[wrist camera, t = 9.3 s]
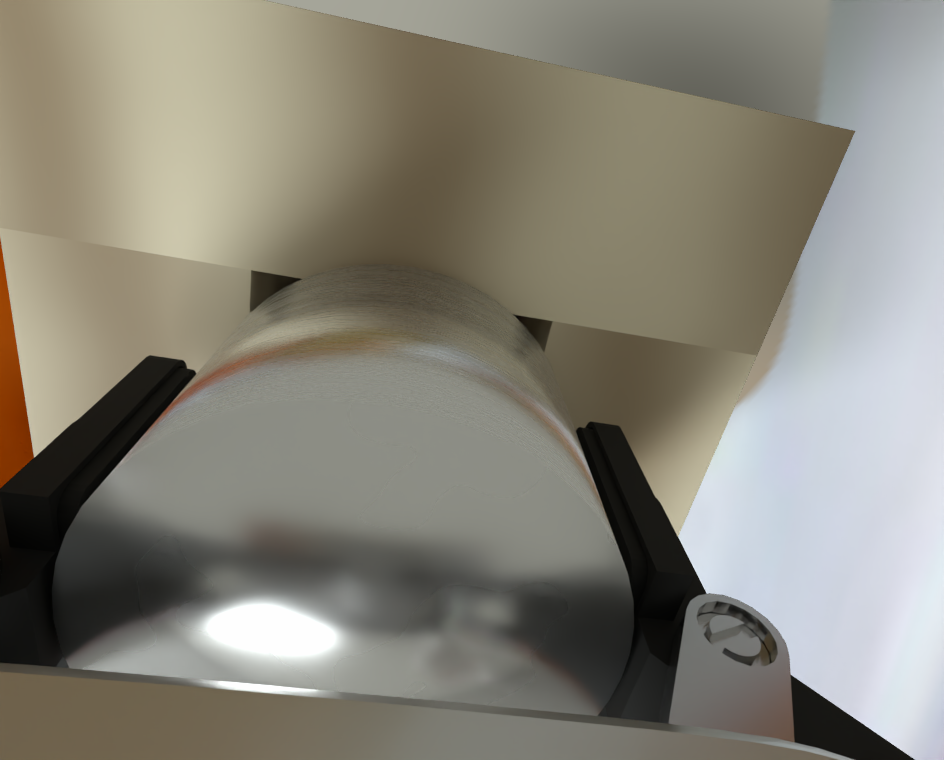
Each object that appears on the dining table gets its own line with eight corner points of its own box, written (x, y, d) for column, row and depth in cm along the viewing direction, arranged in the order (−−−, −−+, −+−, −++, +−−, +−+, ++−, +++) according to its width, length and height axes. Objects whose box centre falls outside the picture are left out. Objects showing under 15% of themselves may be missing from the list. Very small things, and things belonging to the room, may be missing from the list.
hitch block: (685, 110, 17) (855, 130, 10) (562, 498, 23) (613, 683, 16) (179, 0, 16) (-47, -69, 8) (187, 448, 22) (60, 630, 14)
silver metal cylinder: (548, 221, 17) (719, 454, 6) (498, 429, 20) (555, 827, 9) (299, 173, 16) (11, 349, 6) (285, 398, 19) (80, 794, 9)
